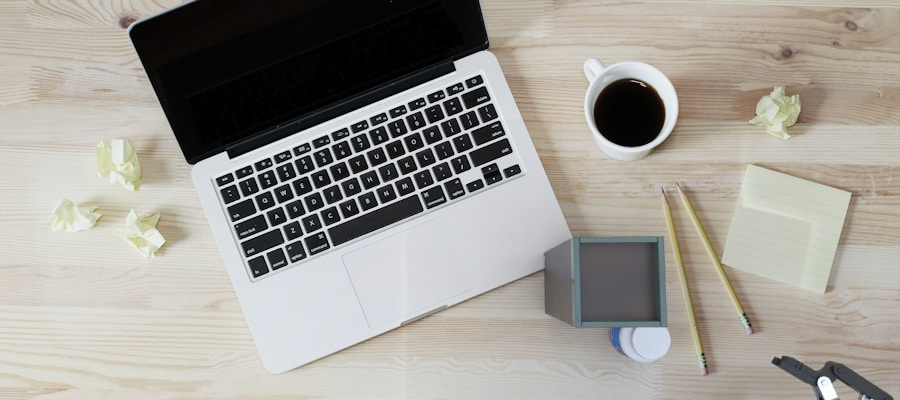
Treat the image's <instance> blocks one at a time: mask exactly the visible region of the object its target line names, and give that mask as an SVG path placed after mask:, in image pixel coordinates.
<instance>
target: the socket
mask: <svg viewBox="0 0 900 400" xmlns="http://www.w3.org/2000/svg"><path fill="white" fill-rule="evenodd" d="M570 239H571V280H572V322H573V326H572V327H573V328H575V329H578V328H579V329H580V328H582V329H584V328H585V329H588V328H590V329H592V328H593V329H597V328H599V329H601V328H608V329H610V328H637V327H667V328H668V312H667V311H668V310H667V285H666V283H667V282H666V260H665V237H664V235H659V236H658V235H657V236H656V235H655V236H654V235H651V236H647V235H646V236H645V235H644V236H642V235H641V236H639V235H638V236H636V235H635V236H633V235H632V236H573V237H570ZM580 244H652V248H653V275H654V302H655V320H582V316H581V276H580Z"/></svg>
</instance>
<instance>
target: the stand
mask: <svg viewBox="0 0 900 400" xmlns="http://www.w3.org/2000/svg"><path fill="white" fill-rule="evenodd" d="M544 252H545V268H544V267H543V269H544V270H543V277H544V280H543V281H544V285H543V286H544V314H546V315H549V316H550V317H553V318H555V319H557V320H559V321H561V322H563V323H565V324H568V325H569V326H571V327H574V326H573V322H572V280H571V238H569V239H568V240H566V241H563V242H561V243H560V244H558V245H556V246H553V247H552V248H550V249H548V250H546V251H544ZM580 276H581V316H582V320H655V302H654V275H653V248H652V244H580Z"/></svg>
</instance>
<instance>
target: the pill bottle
mask: <svg viewBox="0 0 900 400" xmlns="http://www.w3.org/2000/svg"><path fill="white" fill-rule="evenodd" d="M608 335H609V341H610V343H611V345H612V346H613V348H614V349H615V350H616V351H617V352H618V353H619V354H620V355H623V356H624V357H626V358H629V359H630V360H632V361H634V362H637V363H641V364H651V363H654V362H658V361H659V360H660V359H662V358H663V357H664V356H665V355H666V354H667V353H668V352H669V350H670V348H671V345H672V344H671V343H672V338H671V333H670V330H669V327H668V326H667V327H637V328H609V332H608Z"/></svg>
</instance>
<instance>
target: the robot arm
mask: <svg viewBox="0 0 900 400" xmlns="http://www.w3.org/2000/svg"><path fill="white" fill-rule="evenodd" d="M771 360H772V361H770V363H771V364H772V365H774V366H775V367H777V368H779V369H780V370H782V371H784V372H786V373H787V374H789V375H791V376H793V377H794V378H796V379H798V380H800V381H801V382H803V383H804V384H807V385H809V386H811V389H812V391H813V393H814V395H815V397H816V400H841V399H840V397H839V396H838V394H837V391H836V389H835V387H834V385H833V383H835V382H836V381H839V382H841V383H843V384H844V385H846V386H847V387H849V388H850V389H851V390H853V391H855V392H856V393H858V396H857V400H894V397H893V395H891V394H889V393H888V392H886V391H885V390H884V389H882V388H880V387H879V386H877V385H876V384H875V383H873V382H871V381H870V380H868V379H866V378H865V377H863V376H862V375H860V374H859V373H857V372H856V371H854V370H853V369H851V368H850V367H848V366H847V365H845V364H843V363H840V362H837V361H833V360H829V361H826V362H825V363H824V366H822V367H821V368H819V369H817V370H815V369H814V368H811V367H810V366H808V365H806V364H804V363H803V362H801V361H799V360H798V359H796V358H794V357H792V356H788V355H781V358H779V357H777V356H774V357H773V358H772V359H771Z"/></svg>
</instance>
